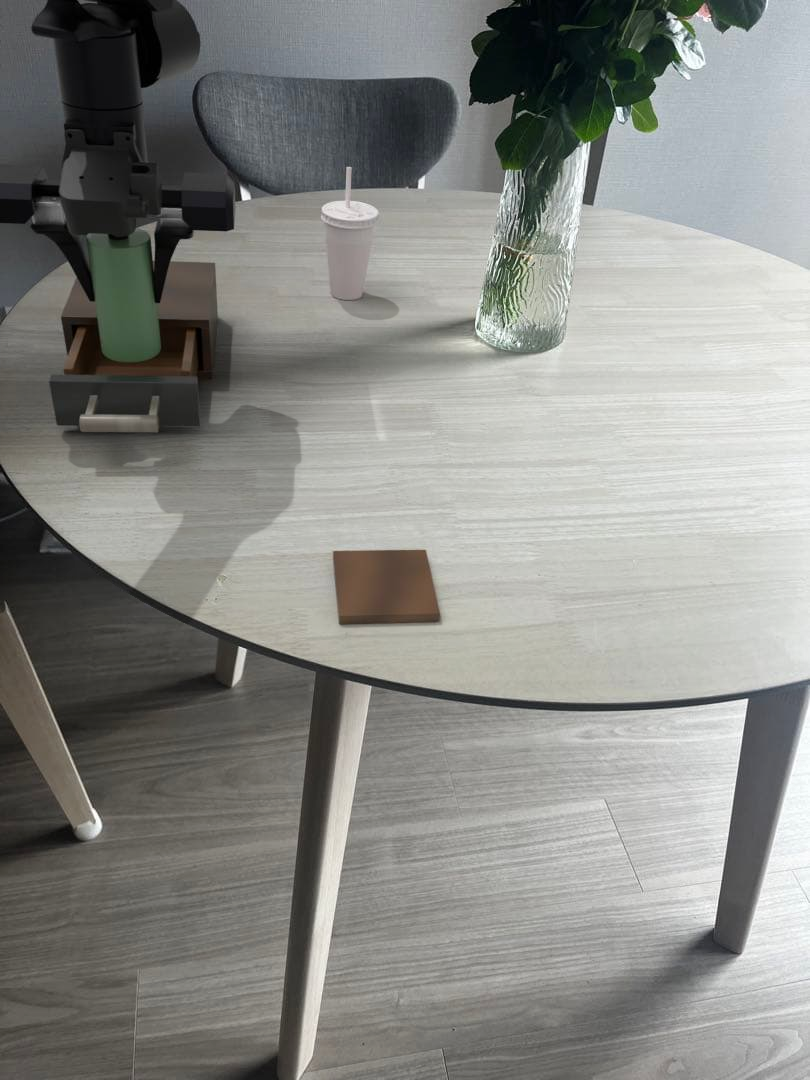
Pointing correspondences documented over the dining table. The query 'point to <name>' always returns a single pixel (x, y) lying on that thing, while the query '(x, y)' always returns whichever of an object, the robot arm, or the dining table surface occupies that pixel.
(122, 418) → the drawer
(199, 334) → the cabinet
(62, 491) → the dining table surface
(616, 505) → the dining table surface
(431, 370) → the dining table surface
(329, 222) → the smoothie
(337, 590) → the plate
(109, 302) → the green bottle
